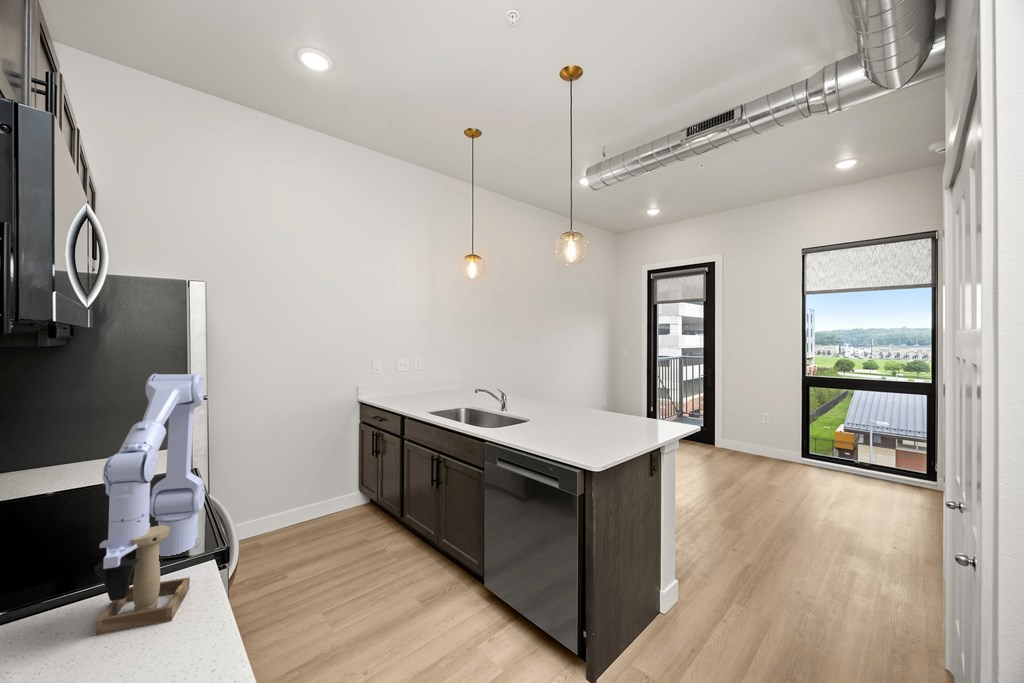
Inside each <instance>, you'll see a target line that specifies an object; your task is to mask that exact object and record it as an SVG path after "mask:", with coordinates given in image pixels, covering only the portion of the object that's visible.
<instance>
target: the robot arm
mask: <svg viewBox="0 0 1024 683" xmlns="http://www.w3.org/2000/svg"><path fill="white" fill-rule="evenodd" d="M145 395H146V397H147V400H148V403H147V407H146V410H145V412H144V415H143V418H142V420H141V421H138V422H136V423H134V424H133V425H132V427H131V428H130V430H129V432H128V434H127V436H126V438H125V439H124V441H123V443H122V444H121V447H120V449H119V451H118V452H117V453H115V454H114V455H111V456H109V457H108V458H107V460H106V461H105V463H104V466H103V469H102V470H103V471H102V481H103V483H104V485H105V494H106V496H108V497H109V501H108V503H109V504H108V506H109V507H108V536H107V537H108V539H104V540H103V541H101V542H100V543H99V549H104V548H105V549H106V555H105V556H104V557H103V561H100V562H98V563H97V565H96V566H95V567H94V573H95V574H96V575H97V576H99V578H100V579H101V581H102V582H103V584H104V586H105V589H106V593H107V595H108V598H109V601H110V602H112V601H115V600H121V599H125V598H126V596H127V593H128V590H129V587H130V585H131V584H130V583H131V579H134V571H135V565H136V563H137V562H138V560H139V559H136V548H138V547H139V546H137V544H135V545H133V546H132V545H131V544H130V540H132V539H136V538H139V537H141V536H144V535H145V534H147V533H148V532H149V528H150V527H151V523H150V515H151V516H152V517H153V518H155V521H156V522H157V521H158V524H157V526H160V525H165V526H169V527H170V531H169V535H168V536H167V537H165V538H164V539H162V540H161V541H160V544H159V555H160V556H171V555H176V554H180V553H182V552H185V551H187V550H189V549H190V548H192V547H193V546H194V545H195V539H196V538H197V537H198V534H199V515H198V513H200V511H202V509H203V507H204V504H205V500H206V499H205V497H206V492H205V482H204V479H202V477H199V476H197V475H196V474H193V473H192V472H191V471H192V467H191V466H192V456H193V454H192V453H193V452H192V450H193V433H194V432H193V430H194V415H195V410H196V408H198V407H201V406H202V405H203V401H204V397H205V382H204V378H203V376H202V375H201V374H200V373H194V374H193V373H189V374H187V373H185V374H184V373H183V374H179V373H177V374H165V373H164V374H163V373H162V374H159V373H152V374H151V375H150V376H149V377H148V378H147V381H146V384H145ZM167 420H168V433H167V429H166V427H165V426H164V425H165V423H166V422H167ZM166 435H168V436H167V450H166V451H167V453H166V467H165V468H166V470H165V472H166V473H165V477H164V478H162V479H161V480H160V481H158V482H157V483H155V484H154V486H153V487H152V488H151V481H152V480H153V478H154V477H155V474H156V471H157V467H158V461H159V454H158V452H159V451H160V448H161V445H162V443H163V441H164V439H165V437H166ZM150 495H151V496H150ZM198 538H199V537H198Z"/></svg>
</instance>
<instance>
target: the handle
mask: <svg viewBox="0 0 1024 683" xmlns="http://www.w3.org/2000/svg"><path fill="white" fill-rule="evenodd" d="M169 531H170V527H169V526H165V525H160V526H158V525H155V526H150V528H149V532H148V533H147V534H145V535H144V536H141V537H139V538H136V539H132V540H130V544H131V545H132V546H133V545H135V544H137V546H139V547H138V548H136V559H139V560H138V562H137V563H136V565H135V571H134V578H133V580H132V587H133V600H134V601H133V604H134V607H133V608H134V611H133V612H137V611H143V610H148V609H154V608H158V602H159V600H158V599H159V597H160V596H159V590H160V582H161V563H160V561H159V544H160V541H161V540H162V539H164V538H165V537H167V536H168V535H169ZM158 596H159V597H158Z"/></svg>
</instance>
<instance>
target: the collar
mask: <svg viewBox="0 0 1024 683" xmlns="http://www.w3.org/2000/svg"><path fill="white" fill-rule="evenodd" d="M189 591H190V577H183V578H182V577H181V578H177V579H172V580H171V579H170V580H164V581H160V590H159V596H158V598H159V597H164V596H169V595H174V596H173V597H172V599H171V600H170V602H169V603H168V605H166V606H161V607H156V608H154V609H148V610H143V611H137V612H135V611H132V612H127V613H122V614H119V613H120V611H121V610H122V608H123V607H124V606H125V605H126V604H127V602H128V603H129V602H134V600H133V586H129V590H128V593H127V596H126V598H125V599H121V600H115V601H110V603H109V605H108V606H107V607H106V608H105V609H104V610H103V612H102V613H101V614H100V616H99V617H98V618H97V619H96V620H95V632H94V633H95V634H94V635H95V636H96V637H97V636H101V635H106V634H111V633H116V632H121V631H128V630H131V629H137V628H143V627H146V626H147V627H148V626H151V625H152V626H153V625H158V624H162V623H167V622H169V623H170V622H172V621H173V619H174V617H175V616H176V613H177V612H178V610H179V609H180V607H181V605H182V603H183V601H184V599H185V597H186V596H187V594H188V593H189Z"/></svg>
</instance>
